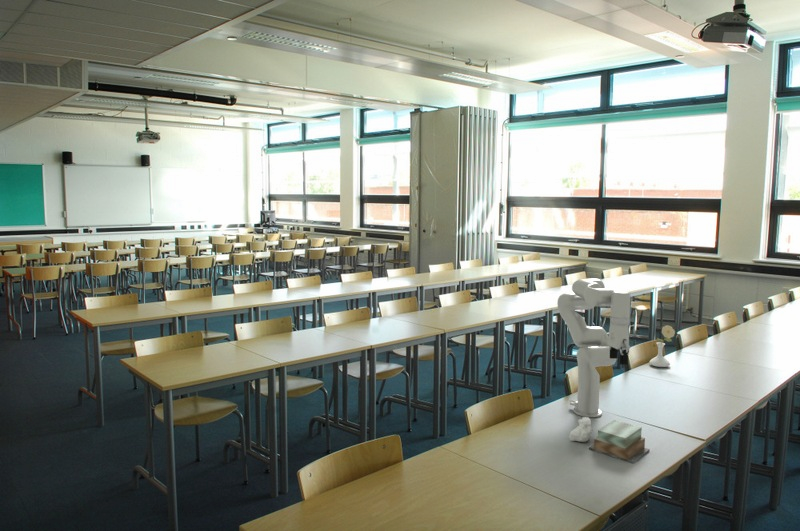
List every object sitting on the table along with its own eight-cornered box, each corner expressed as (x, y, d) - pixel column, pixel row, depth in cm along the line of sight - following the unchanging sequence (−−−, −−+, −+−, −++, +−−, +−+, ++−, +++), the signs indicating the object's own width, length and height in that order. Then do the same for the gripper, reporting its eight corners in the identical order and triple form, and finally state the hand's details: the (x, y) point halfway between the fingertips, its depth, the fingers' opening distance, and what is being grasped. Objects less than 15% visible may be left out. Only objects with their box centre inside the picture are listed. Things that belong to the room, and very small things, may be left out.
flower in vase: (650, 367, 344) (652, 326, 341) (648, 362, 355) (650, 322, 352) (674, 369, 340) (676, 327, 337) (671, 364, 351) (673, 323, 348)
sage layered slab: (588, 449, 231) (589, 427, 230) (605, 438, 242) (606, 417, 241) (633, 463, 219) (634, 440, 218) (649, 451, 230) (650, 429, 229)
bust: (572, 449, 237) (587, 433, 230) (560, 433, 241) (575, 417, 234) (591, 442, 243) (606, 427, 237) (579, 427, 248) (594, 411, 241)
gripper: (602, 317, 251) (601, 356, 252) (620, 325, 233) (618, 367, 235) (619, 317, 251) (618, 356, 253) (638, 324, 234) (636, 366, 235)
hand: (618, 361), depth 244 cm, fingers open, 9 cm apart
